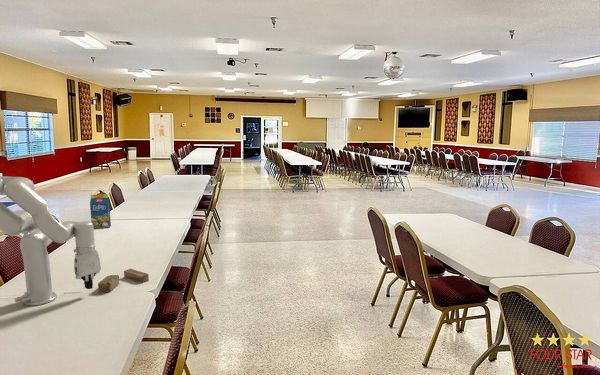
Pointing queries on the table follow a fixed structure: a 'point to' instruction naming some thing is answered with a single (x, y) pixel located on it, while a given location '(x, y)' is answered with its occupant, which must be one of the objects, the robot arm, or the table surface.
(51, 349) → the table surface
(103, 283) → the stone block
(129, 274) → the brown rectangular bar
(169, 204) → the table surface
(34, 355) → the table surface
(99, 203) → the blue food package
